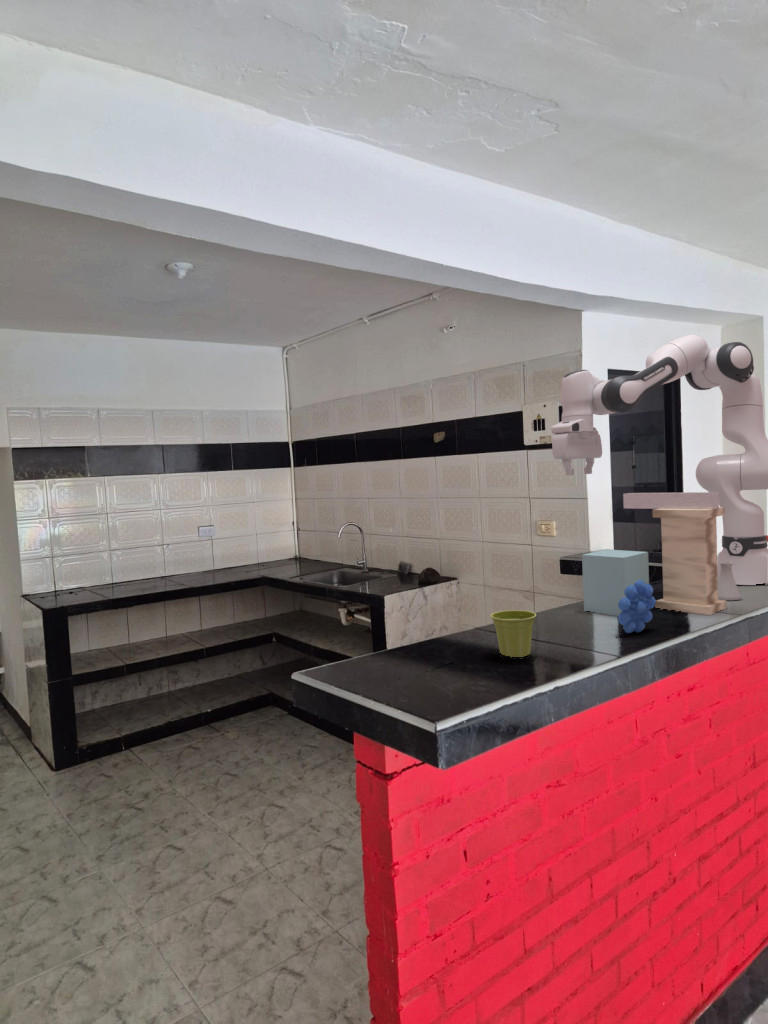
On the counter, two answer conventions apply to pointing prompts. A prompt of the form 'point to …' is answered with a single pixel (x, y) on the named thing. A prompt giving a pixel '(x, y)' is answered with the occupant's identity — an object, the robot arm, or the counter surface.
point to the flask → (727, 583)
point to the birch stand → (690, 560)
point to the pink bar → (672, 500)
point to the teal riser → (611, 578)
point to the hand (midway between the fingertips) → (579, 474)
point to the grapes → (636, 606)
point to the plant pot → (514, 631)
